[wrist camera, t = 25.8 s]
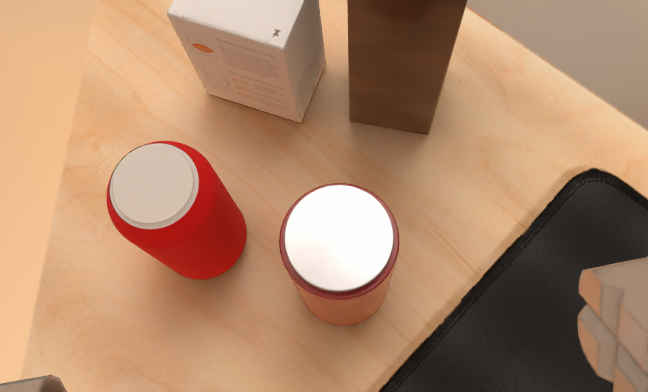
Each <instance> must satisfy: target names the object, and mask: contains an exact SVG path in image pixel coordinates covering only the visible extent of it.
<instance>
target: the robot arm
mask: <svg viewBox="0 0 648 392" xmlns="http://www.w3.org/2000/svg"><path fill="white" fill-rule="evenodd" d="M579 293H580V295H581V296H582V297H583V298H584V299H585V301H586V302H587V304H586V305H585V307H584V308H583V309H582V311H581V312H580V313H579V315H578V334H579V338H580V342H581V346H582V350H583V352H584V354H585V356H586V358H587V360H588V362H589V364H590V365H591V367H592V368H593V370H594V371H595V373H596V374H597V375H598V376H600V377H602V378H604V379H606V380H608V381H610V382H612V383H614V387H613V392H648V256H647V257H646V258H640V259H635V260H630V261H625V262H620V263H615V264H610V265H606V266H601V267H596V268H591V269H586V270H583V271H582V273H581V276H580V278H579ZM0 392H67V391H66V389H65V388H64V386H63V384H62V382H61V380H60V379H59V378H58V377H55V376H52V375H48V376H42V377H36V378H31V379H25V380H19V381H14V382H8V383H2V384H0Z"/></svg>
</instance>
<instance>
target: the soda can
mask: <svg viewBox="0 0 648 392" xmlns="http://www.w3.org/2000/svg"><path fill="white" fill-rule="evenodd" d="M279 245H280V253H281V257H282V260H283V263H284V265H285V267H286V269H287V271H288V273H289V275H290V277H291V278H292V280H293V282H294V284H295V286H296V287H297V289H298V291H299V293H300V294H301V296H302V298H303V300H304V302H305V303H306V305H307V307H308V308H309V309H310V311H311V312H312V313H313V314H314V315H316V316H317V317H318V318H320V319H321V320H323V321H325V322H327V323H330V324H334V325H341V326H346V325H353V324H357V323H360V322H362V321H364V320H366V319H367V318H369V317H370V316H371V315H373V314H374V313H375V312H376V311H377V309H378V308H379V307H380V305H381V303H382V302H383V299H384V297H385V294H386V291H387V287H388V284H389V281H390V278H391V275H392V272H393V269H394V265H395V262H396V259H397V255H398V251H399V232H398V227H397V224H396V221H395V219H394V216H393V214H392V213H391V211H390V210H389V208H388V207H387V206H386V204H385V203H384V202H383V201H382V200H381V199H380V198H379V197H378V196H376V195H375V194H373V193H372V192H370V191H368V190H367V189H364V188H362V187H359V186H356V185H352V184H345V183H334V184H327V185H323V186H320V187H317V188H315V189H313V190H311V191H309V192H307V193H306V194H304V195H303V196H301V197H300V198H299V199H298V200H297V201H296V202H295V203H294V204H293V205H292V207H291V208H290V209H289V211H288V213H287V214H286V216H285V218H284V220H283V223H282V227H281V231H280V240H279Z"/></svg>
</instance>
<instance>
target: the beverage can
mask: <svg viewBox="0 0 648 392" xmlns="http://www.w3.org/2000/svg"><path fill="white" fill-rule="evenodd" d="M107 207H108V211H109V215H110V217H111V220H112V222H113V224H114V225H115V227H116V228H117V230H118V231H119V232H120V233H121V234H122V235H123V236H124V237H125V238H126V239H127V240H129V241H130V242H132V243H133V244H135V245H136V246H138V247H139V248H141V249H142V250H144V251H145V252H147V253H148V254H150V255H151V256H153V257H154V258H156V259H157V260H159V261H160V262H162V263H163V264H165V265H166V266H168V267H169V268H171V269H172V270H174V271H175V272H177V273H178V274H180V275H182V276H185V277H188V278H192V279H209V278H213V277H216V276H218V275H221V274H222V273H224V272H226V271H227V270H228V269H230V268H231V267H232V266H233V265H234V264H235V263H236V262H237V260H238V259H239V257H240V256H241V254H242V252H243V250H244V247H245V243H246V236H247V230H246V224H245V220H244V218H243V215H242V213H241V212H240V210H239V208H238V207H237V205H236V204H235V202H234V201H233V199H232V198H231V196H230V194H229V193H228V191H227V190H226V188H225V187H224V185H223V183H222V182H221V180H220V179H219V177H218V176H217V174H216V172H215V171H214V169H213V168H212V166H211V165H210V163H209V162H208V161H207V159H206V158H205V157H204V156H203V155H202V154H200V153H199V152H198V151H196V150H195V149H193V148H191V147H189V146H187V145H185V144H182V143H178V142H172V141H157V142H152V143H148V144H145V145H142V146H140V147H138V148H136V149H134V150H132V151H131V152H129V153H128V154H127V155H126V156H124V157H123V158H122V160H121V161H120V162H119V163H118V164H117V166H116V168H115V169H114V171H113V173H112V175H111V178H110V180H109V184H108V188H107Z"/></svg>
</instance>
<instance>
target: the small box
mask: <svg viewBox="0 0 648 392" xmlns="http://www.w3.org/2000/svg"><path fill="white" fill-rule="evenodd" d="M167 16H168V17H169V19H170V21H171V23H172V25H173V27H174V29H175V31H176V33H177V35H178V37H179V39H180V41H181V43H182V45H183V47H184V49H185V51H186V53H187V55H188V56H189V58H190V60H191V62H192V64H193V66H194V68H195V70H196V72H197V74H198V76H199V78H200V79H201V81H202V83H203V85H204V87H205V89H206V91H207V93H208V94H211V95H214V96H217V97H221V98H224V99H227V100H230V101H233V102H236V103H239V104H243V105H246V106H249V107H252V108H255V109H258V110H261V111H265V112H268V113H271V114H274V115H277V116H280V117H284V118H287V119H290V120H293V121H296V122H299V123H301V121H302V119H303V116H304V114H305V111H306V109H307V107H308V104H309V102H310V100H311V97H312V95H313V93H314V90H315V88H316V86H317V83H318V81H319V78H320V76H321V74H322V71H323V69H324V67H325V64H326V60H325V52H324V43H323V35H322V26H321V18H320V10H319V0H174V1H173V3H172V5H171V6H170V8H169V10H168V12H167Z"/></svg>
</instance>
